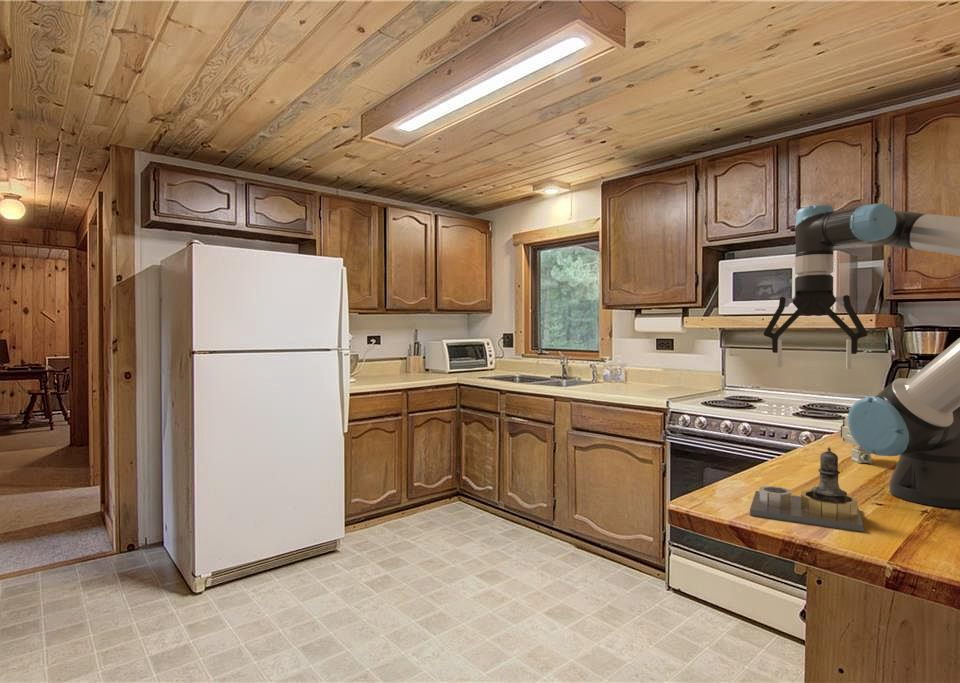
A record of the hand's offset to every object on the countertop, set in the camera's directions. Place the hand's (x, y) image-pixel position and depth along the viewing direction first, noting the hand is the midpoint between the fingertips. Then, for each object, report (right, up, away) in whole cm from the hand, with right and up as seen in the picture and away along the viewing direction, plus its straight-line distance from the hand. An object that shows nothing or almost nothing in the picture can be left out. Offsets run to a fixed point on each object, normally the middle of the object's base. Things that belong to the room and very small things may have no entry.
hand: (813, 368), depth 128 cm
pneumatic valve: (+25, -26, +21) cm, 42 cm away
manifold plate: (-13, -27, -19) cm, 36 cm away
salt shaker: (-10, -26, -21) cm, 35 cm away
